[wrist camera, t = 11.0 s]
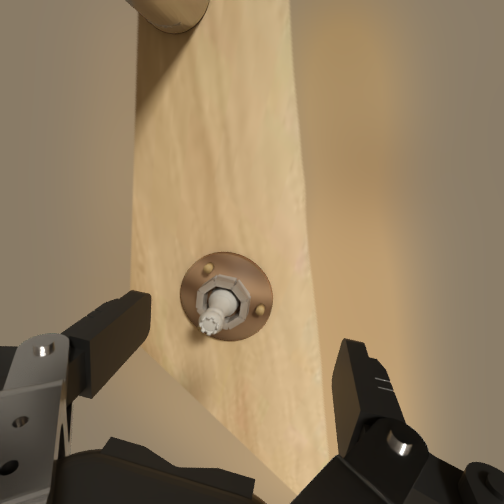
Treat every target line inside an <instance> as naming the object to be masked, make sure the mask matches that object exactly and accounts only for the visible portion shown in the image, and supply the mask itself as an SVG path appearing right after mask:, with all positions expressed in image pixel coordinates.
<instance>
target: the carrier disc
mask: <svg viewBox="0 0 504 504" xmlns="http://www.w3.org/2000/svg"><path fill="white" fill-rule="evenodd" d="M218 287H222V288H227V289H231V290H232V291H233V292H234V293H235V295H236V296H237V297H238V299H239V306H238V308H237V309H236V311H235V312H234V313H233V314H232V315H230V316H227V317H225V320H224V322H223V328H222V330H221V331H220V332H219V333H216V334H211V335H210V336H212V337H214V338H218V339H222V340H231V341H232V340H241V339H245V338H248V337H250V336H252V335H254V334H255V333H257V332H258V331H259V330H260V329H261V328H262V327H263V326H264V325H265V323H266V322H267V320H268V318H269V316H270V312H271V308H272V303H273V294H272V288H271V285H270V282H269V280H268V278H267V276H266V275H265V273H264V272H263V271H262V270H261V268H260V267H259V266H258V265H256V264H255V263H254V262H253V261H251V260H250V259H248V258H246V257H244V256H242V255H239V254H236V253H231V252H217V253H212V254H209V255H206V256H204V257H202V258H201V259H199V260H198V261H197V262H196V263H194V264H193V265H192V266H191V267H190V268H189V270H188V271H187V273H186V274H185V276H184V278H183V281H182V285H181V300H182V304H183V307H184V310H185V312H186V314H187V316H188V317H189V319H190V320H191V321H192V322H193V324H194V325H195V326H196V327H198V330H199V331H200V330H201V328H200V327H199V317H200V315H201V314H202V313H203V312H205V311H206V310H207V309H208V308H209V297H210V295H211V293H212V291H213V290H214V289H216V288H218ZM204 333H206V332H204ZM206 334H207V333H206Z"/></svg>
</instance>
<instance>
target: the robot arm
mask: <svg viewBox="0 0 504 504" xmlns="http://www.w3.org/2000/svg"><path fill="white" fill-rule="evenodd" d="M126 1H127V2H128V3H129V4H130V5H131V6H132V7H133V8H135V9H136V10H137V11H138V12H139V13H140V14H141V15H142V16H144V17H145V18H146V19H147V21H149V22H150V23H151V24H153V25H154V26H155V27H156V28H158V29H159V30H161V31H163V32H167V33H171V34H173V33H181V32H185V31H187V30H189V29H190V28H192V27H193V26H195V25H196V24H197V23H198V22H199V21H200V19H201V18H202V16H203V15H204V13H205V11H206V8H207V6H208V3H209V0H126ZM150 321H151V295H150V294H148V293H143V292H139V291H135V290H131V291H129V292H128V293H127V294H125V295H124V296H123V297H121V298H120V299H114V300H111V301H109V302H106V303H104V304H102V305H101V306H99V307H98V308H97V309H95V311H92V312H91V313H89V314H88V315H87V317H86V316H85V317H84V318H82V319H81V320H80V321H78V322H77V323H75V324H74V325H72V326H71V327H70V328H68V329H67V330H65V331H64V332H62V333H61V334H57V333H48V334H42V335H38V336H35V337H32V338H30V339H28V340H26V341H24V342H23V343H21V345H19V346H18V347H12V346H10V347H9V346H0V504H266V503H265V502H264V501H263V500H262V499H260V498H259V497H257V496H256V495H254V494H253V489H254V483H255V479H253V478H249V477H245V476H242V475H239V474H236V473H232V472H229V471H225V470H222V469H219V468H181V467H176V466H174V465H172V464H170V463H169V462H167V461H166V460H164V459H163V458H161V457H160V456H158V455H157V454H155V453H154V452H152V451H151V450H149V449H148V448H146V447H144V446H141V445H137V444H134V443H131V442H127V441H124V440H120V439H117V438H113V437H111V438H110V439H109V440H108V442H107V443H106V445H105V446H104V447H103V449H95V450H88V451H83V452H78V453H75V454H72V455H70V451H71V435H72V419H73V401H74V400H75V399H76V398H77V396H78V395H79V396H83V397H86V398H90V399H92V398H93V397H94V396H95V395H96V394H97V393H98V391H99V390H100V389H101V388H102V387H103V386H104V385H105V384H106V383H107V382H108V380H109V379H110V378H111V377H112V376H113V375H114V374H115V373H116V372H117V371H118V369H119V368H120V367H121V366H122V365H123V364H124V363H125V362H126V361H127V359H128V358H129V357H130V356H131V355H132V354H133V353H134V352H135V351H136V350H137V349H138V347H139V346H140V345H141V344H142V343H143V342H144V341H145V339H146V338H147V336H148V333H149V330H150ZM332 393H333V403H334V413H335V423H336V432H337V442H338V451H339V454H338V455H336V456H335V457H334V458H332V459H331V461H330V462H329V463H328V464H327V465H326V466H325V467H324V468H323V469H322V470H321V471H320V472H319V473H318V474H317V475H316V476H315V478H314V479H313V480H312V481H311V482H310V483H309V484H308V485H307V486H306V487H305V488H304V489H303V490H302V491H301V492H300V493H299V495H298V496H297V497H296V498H295V499H294V500H293V501H292V502H291V503H290V504H504V473H503V472H502V471H500V470H498V469H497V468H495V467H493V466H491V465H488V464H485V463H481V462H472V463H469V464H468V465H467V467H466V468H465V470H464V471H462V470H460V469H458V468H456V467H454V466H452V465H450V464H448V463H447V462H445V461H443V460H441V459H439V458H437V457H435V456H434V455H432V454H431V453H429V451H428V447H427V445H426V443H425V441H424V440H423V438H422V437H421V436H420V435H419V434H418V433H417V432H416V431H415V430H414V429H413V428H411V427H410V426H408V425H407V424H406V423H405V420H404V417H403V414H402V411H401V409H400V406H399V403H398V401H397V398H396V396H395V393H394V392H393V387H392V385H391V383H390V379H389V377H388V374H387V371H386V369H385V368H384V367H383V366H382V365H381V363H380V362H379V361H378V360H377V359H374V358H370V357H369V356H368V353H367V350H366V347H365V344H364V343H363V342H359V341H354V340H350V339H345V338H344V339H343V340H342V343H341V346H340V350H339V353H338V357H337V361H336V364H335V367H334V371H333V376H332Z"/></svg>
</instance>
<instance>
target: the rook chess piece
mask: <svg viewBox="0 0 504 504" xmlns="http://www.w3.org/2000/svg"><path fill="white" fill-rule="evenodd" d="M238 306H239V299H238V297H237V296H236V295H235V293H234V292H233V291H232V290H231V289H227V288H222V287H218V288H216V289H214V290H213V291H212V293H211V295H210V297H209V308H208V309H207V310H206V311H205V312H203V313H202V314H201V315H200V317H199V327H200V328H201V330H200V331H201V332H202V333H204V332H206V333H207V335H208V336H210V335H211V334H216V333H219V332H220V331H221V330H222V328H223V322H224V320H225V317H227V316H230V315H232V314H233V313H234V312H235V311H236V309H237V308H238Z"/></svg>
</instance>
